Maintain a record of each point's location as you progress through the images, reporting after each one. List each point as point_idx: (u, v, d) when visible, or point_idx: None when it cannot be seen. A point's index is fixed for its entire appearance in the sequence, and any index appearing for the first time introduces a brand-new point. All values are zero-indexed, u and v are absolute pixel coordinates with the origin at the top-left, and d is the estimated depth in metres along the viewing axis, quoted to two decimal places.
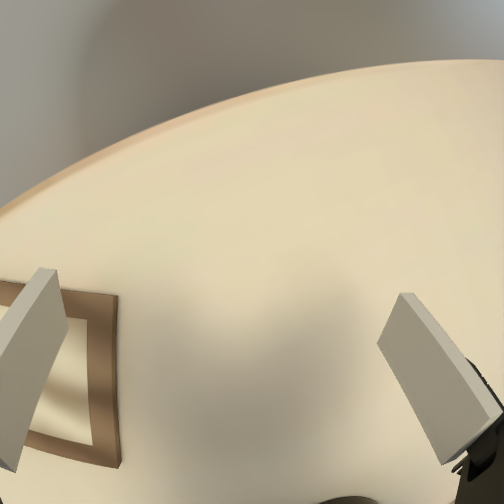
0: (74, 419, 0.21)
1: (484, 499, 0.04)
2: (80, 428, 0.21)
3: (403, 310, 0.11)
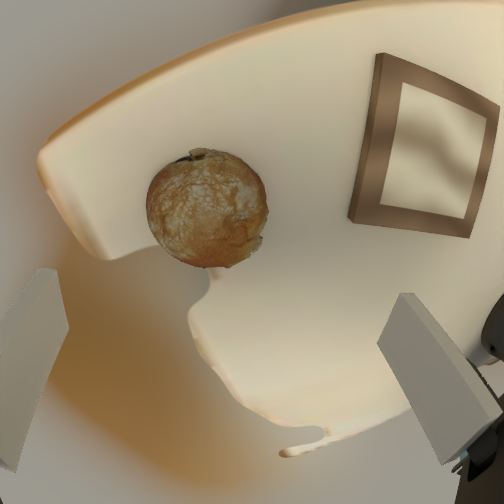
0: (460, 195, 0.28)
1: (484, 499, 0.04)
2: (460, 203, 0.28)
3: (403, 310, 0.11)
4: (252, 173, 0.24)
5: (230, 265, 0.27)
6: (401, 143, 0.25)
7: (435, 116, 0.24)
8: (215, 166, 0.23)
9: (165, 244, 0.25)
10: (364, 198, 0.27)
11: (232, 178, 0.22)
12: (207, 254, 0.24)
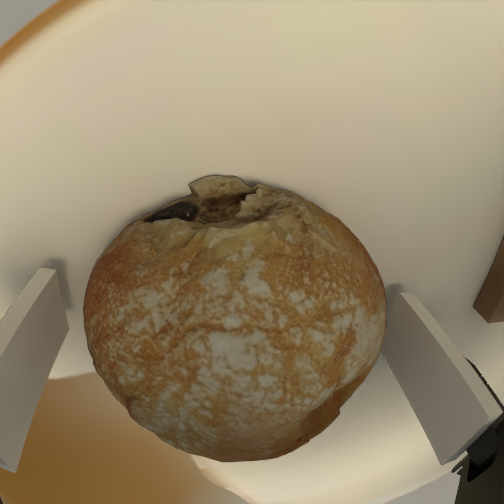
0: None
1: (484, 499, 0.04)
2: None
3: (403, 310, 0.11)
4: (373, 265, 0.08)
5: None
6: None
7: None
8: (284, 257, 0.07)
9: None
10: None
11: (339, 299, 0.07)
12: None
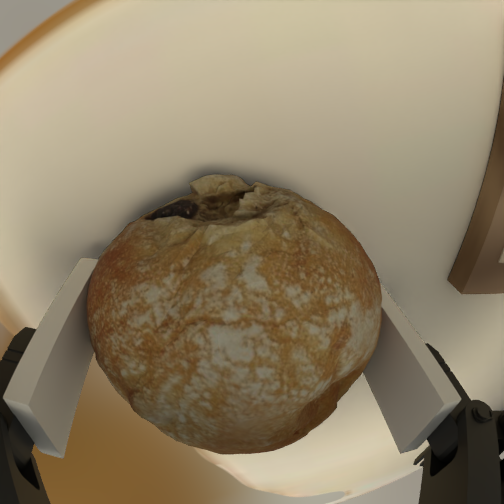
0: None
1: (449, 496, 0.05)
2: None
3: None
4: (368, 261, 0.09)
5: None
6: None
7: None
8: (281, 253, 0.07)
9: None
10: (484, 255, 0.14)
11: (335, 294, 0.07)
12: (247, 453, 0.09)
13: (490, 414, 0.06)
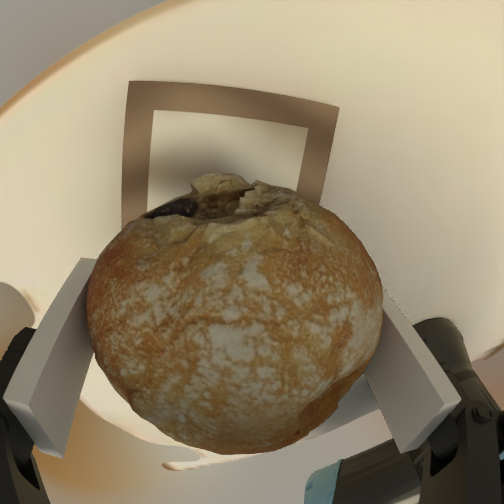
0: None
1: (449, 496, 0.05)
2: None
3: None
4: (370, 259, 0.09)
5: None
6: (159, 183, 0.23)
7: (208, 141, 0.22)
8: (281, 251, 0.07)
9: None
10: None
11: (335, 293, 0.07)
12: (247, 453, 0.09)
13: (490, 414, 0.06)
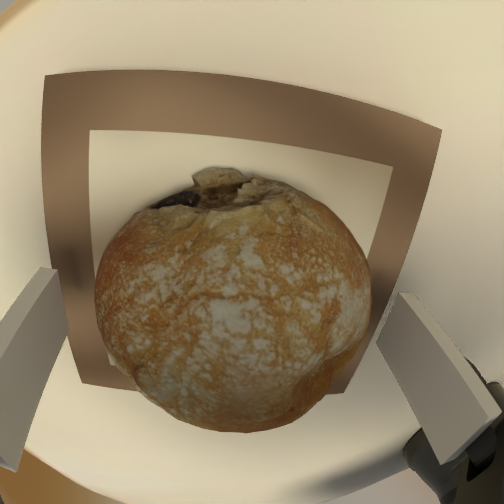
0: None
1: (483, 499, 0.04)
2: None
3: (402, 310, 0.11)
4: (358, 246, 0.09)
5: None
6: None
7: None
8: (275, 235, 0.08)
9: (145, 393, 0.10)
10: (81, 356, 0.14)
11: (325, 273, 0.08)
12: (245, 432, 0.09)
13: None
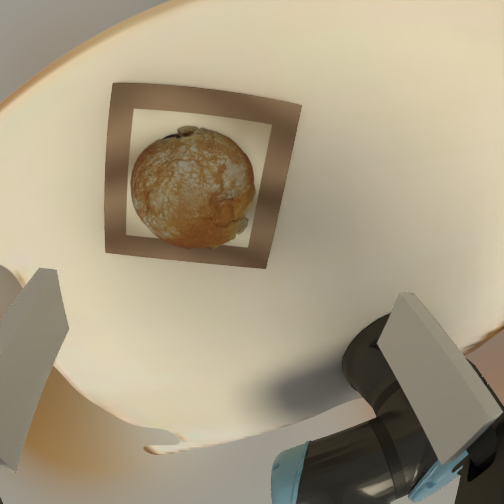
0: None
1: (484, 499, 0.04)
2: None
3: (403, 310, 0.11)
4: (241, 152, 0.23)
5: (214, 247, 0.26)
6: None
7: None
8: (203, 143, 0.21)
9: (148, 223, 0.24)
10: (110, 230, 0.28)
11: (220, 155, 0.21)
12: (191, 233, 0.23)
13: None
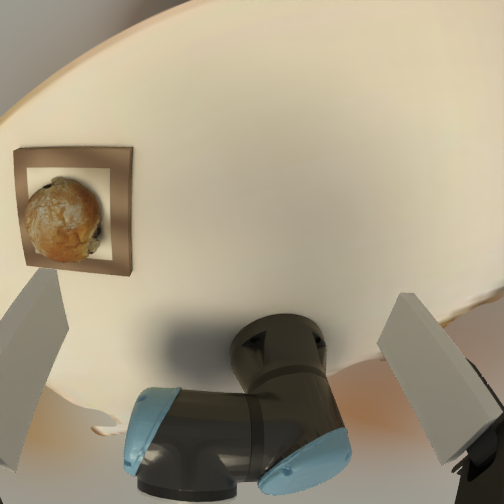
0: None
1: (484, 499, 0.04)
2: (103, 248, 0.36)
3: (403, 310, 0.11)
4: (80, 195, 0.30)
5: (78, 261, 0.33)
6: None
7: None
8: (54, 192, 0.28)
9: (35, 246, 0.30)
10: (26, 249, 0.35)
11: (62, 200, 0.28)
12: (53, 253, 0.30)
13: None
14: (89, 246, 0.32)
